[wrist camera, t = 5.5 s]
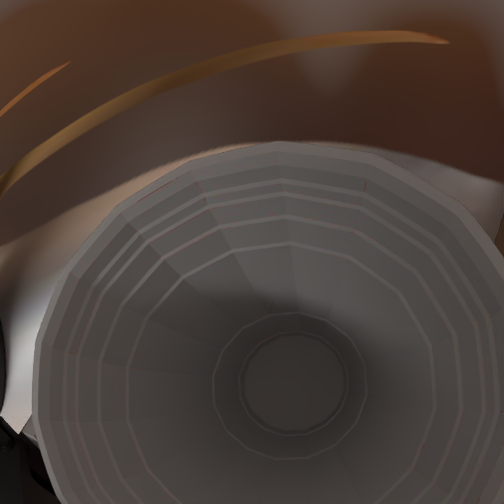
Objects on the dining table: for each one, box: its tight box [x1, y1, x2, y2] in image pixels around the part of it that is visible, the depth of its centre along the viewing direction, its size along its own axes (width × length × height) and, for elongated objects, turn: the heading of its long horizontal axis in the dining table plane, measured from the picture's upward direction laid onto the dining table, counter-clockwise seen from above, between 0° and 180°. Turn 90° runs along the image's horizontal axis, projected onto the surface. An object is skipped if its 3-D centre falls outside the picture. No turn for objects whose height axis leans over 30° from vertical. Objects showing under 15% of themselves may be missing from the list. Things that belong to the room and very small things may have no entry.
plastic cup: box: [32, 141, 504, 504], centre depth 9 cm, size 11×11×12 cm
